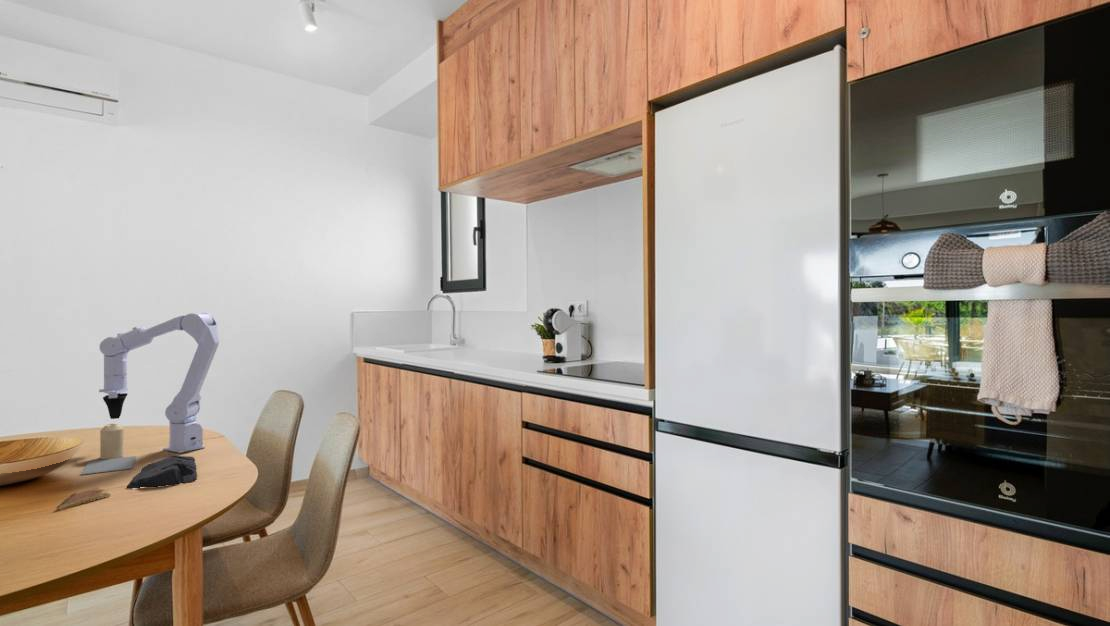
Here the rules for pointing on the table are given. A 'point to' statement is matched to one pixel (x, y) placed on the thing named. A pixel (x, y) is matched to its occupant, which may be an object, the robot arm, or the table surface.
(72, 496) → the shard
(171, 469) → the dark slate chunk
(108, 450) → the candle
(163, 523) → the table surface
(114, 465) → the slate mat
